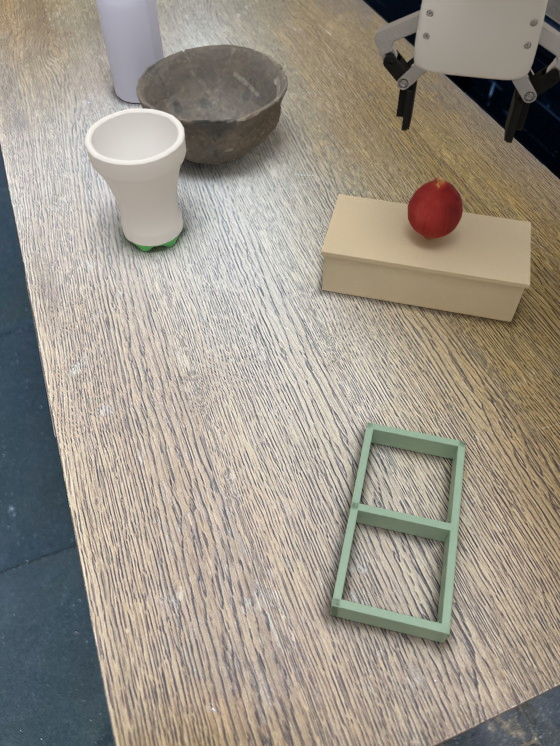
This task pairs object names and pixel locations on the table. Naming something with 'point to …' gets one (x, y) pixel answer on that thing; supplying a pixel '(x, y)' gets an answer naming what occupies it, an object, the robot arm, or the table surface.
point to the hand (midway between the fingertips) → (456, 129)
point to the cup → (141, 171)
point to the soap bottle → (130, 41)
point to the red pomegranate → (435, 209)
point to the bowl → (217, 98)
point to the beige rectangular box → (427, 259)
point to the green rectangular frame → (409, 526)
